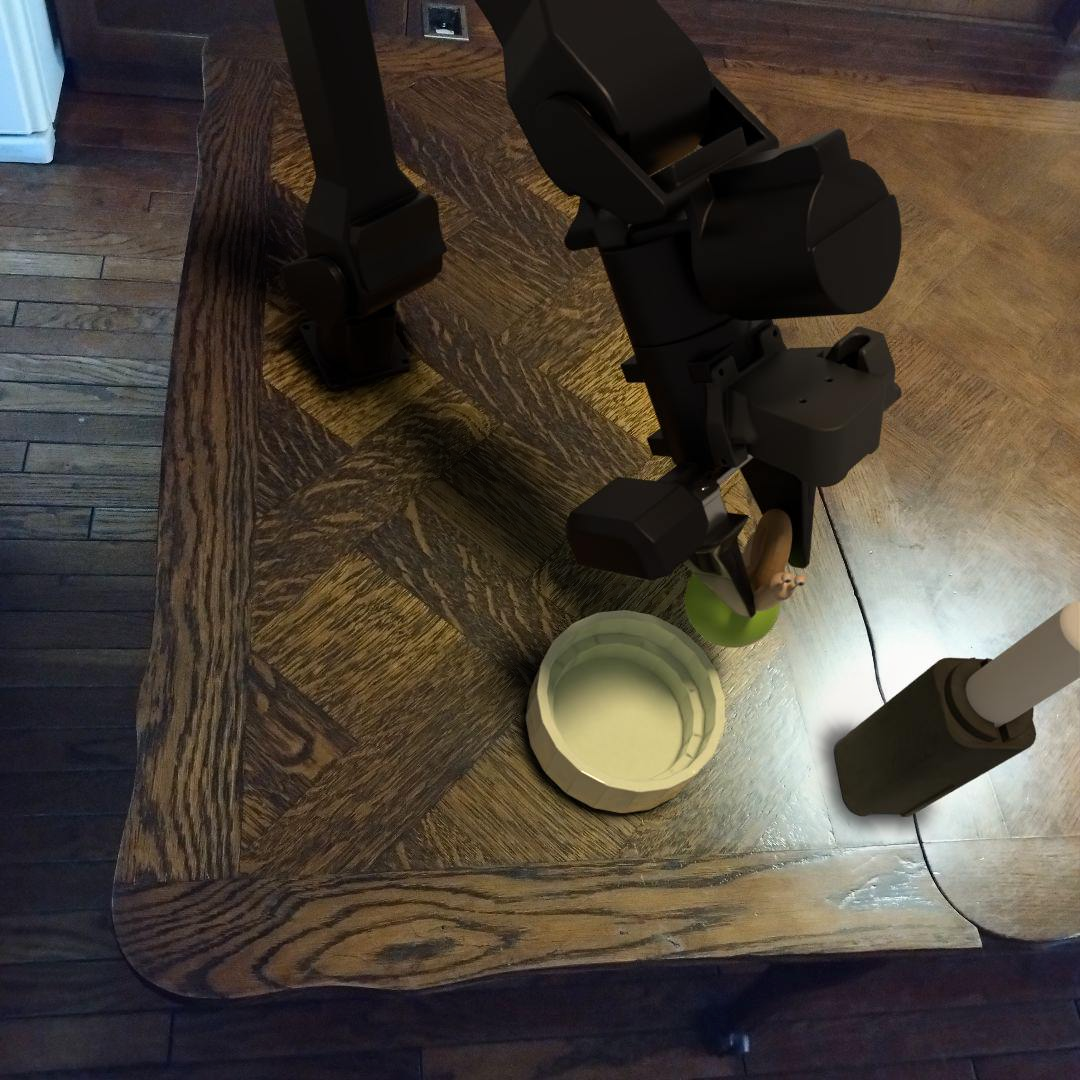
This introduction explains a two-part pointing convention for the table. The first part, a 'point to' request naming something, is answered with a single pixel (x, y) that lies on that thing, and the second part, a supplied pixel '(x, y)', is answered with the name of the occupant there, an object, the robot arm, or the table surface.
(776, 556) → the snail figurine
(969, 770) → the candle
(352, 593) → the table surface
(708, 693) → the bowl
